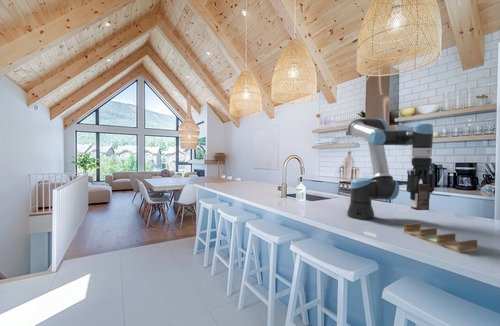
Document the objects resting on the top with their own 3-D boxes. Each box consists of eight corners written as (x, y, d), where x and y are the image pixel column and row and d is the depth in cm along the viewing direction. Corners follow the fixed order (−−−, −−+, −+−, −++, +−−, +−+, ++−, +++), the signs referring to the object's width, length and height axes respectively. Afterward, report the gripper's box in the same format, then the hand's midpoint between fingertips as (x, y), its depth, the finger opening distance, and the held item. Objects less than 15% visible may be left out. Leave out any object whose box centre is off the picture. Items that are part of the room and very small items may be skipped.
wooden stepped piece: (403, 232, 112) (404, 224, 112) (418, 231, 114) (419, 223, 114) (459, 252, 89) (459, 242, 89) (477, 250, 91) (477, 240, 91)
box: (420, 208, 112) (422, 183, 111) (429, 210, 107) (430, 184, 107) (409, 208, 111) (411, 183, 110) (417, 210, 107) (419, 184, 106)
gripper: (412, 157, 102) (410, 209, 103) (446, 157, 107) (443, 207, 108) (397, 157, 109) (396, 205, 111) (429, 157, 114) (428, 203, 115)
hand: (419, 206), depth 109 cm, fingers closed on box, 6 cm apart
